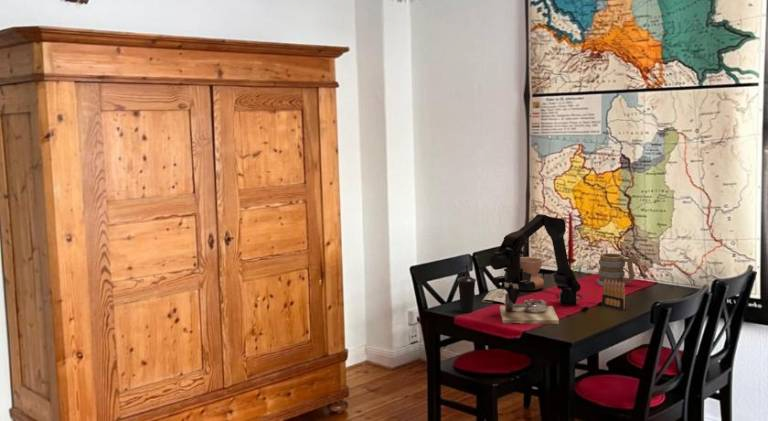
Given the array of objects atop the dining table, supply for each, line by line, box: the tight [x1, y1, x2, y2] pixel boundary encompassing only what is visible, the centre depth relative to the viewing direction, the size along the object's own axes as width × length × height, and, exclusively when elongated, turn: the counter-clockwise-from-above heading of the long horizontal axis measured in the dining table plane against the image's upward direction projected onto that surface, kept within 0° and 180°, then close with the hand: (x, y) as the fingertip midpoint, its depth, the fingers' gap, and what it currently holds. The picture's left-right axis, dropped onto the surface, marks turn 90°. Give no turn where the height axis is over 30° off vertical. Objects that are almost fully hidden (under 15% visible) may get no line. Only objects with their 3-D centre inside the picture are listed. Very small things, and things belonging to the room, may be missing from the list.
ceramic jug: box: [516, 256, 545, 291], centre depth 371 cm, size 18×14×14 cm
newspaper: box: [481, 288, 507, 305], centre depth 357 cm, size 23×12×2 cm, turn 157°
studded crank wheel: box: [504, 293, 547, 313], centre depth 327 cm, size 17×9×7 cm, turn 96°
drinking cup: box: [457, 263, 477, 313], centre depth 333 cm, size 8×8×20 cm
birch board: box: [499, 305, 560, 325], centre depth 325 cm, size 22×22×2 cm
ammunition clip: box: [601, 278, 627, 311], centre depth 336 cm, size 11×2×12 cm, turn 40°
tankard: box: [596, 252, 640, 288], centre depth 376 cm, size 20×13×15 cm, turn 43°
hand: (514, 303), depth 323 cm, fingers closed
